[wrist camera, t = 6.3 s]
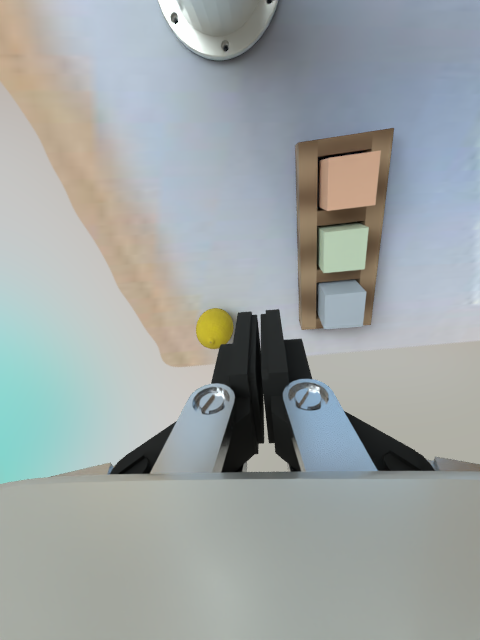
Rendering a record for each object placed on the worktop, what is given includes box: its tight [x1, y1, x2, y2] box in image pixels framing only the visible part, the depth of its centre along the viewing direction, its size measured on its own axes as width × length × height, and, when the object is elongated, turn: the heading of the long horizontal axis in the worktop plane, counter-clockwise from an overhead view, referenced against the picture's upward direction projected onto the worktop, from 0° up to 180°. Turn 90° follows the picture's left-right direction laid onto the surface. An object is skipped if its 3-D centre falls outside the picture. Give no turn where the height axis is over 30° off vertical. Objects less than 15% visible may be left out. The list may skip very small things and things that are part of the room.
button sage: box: [317, 222, 369, 273], centre depth 34 cm, size 5×5×5 cm
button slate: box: [317, 279, 366, 329], centre depth 37 cm, size 5×5×5 cm
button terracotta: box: [318, 150, 381, 211], centre depth 30 cm, size 5×5×5 cm
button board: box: [295, 128, 394, 330], centre depth 36 cm, size 24×10×3 cm, turn 7°
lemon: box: [196, 308, 233, 349], centre depth 40 cm, size 6×6×8 cm
